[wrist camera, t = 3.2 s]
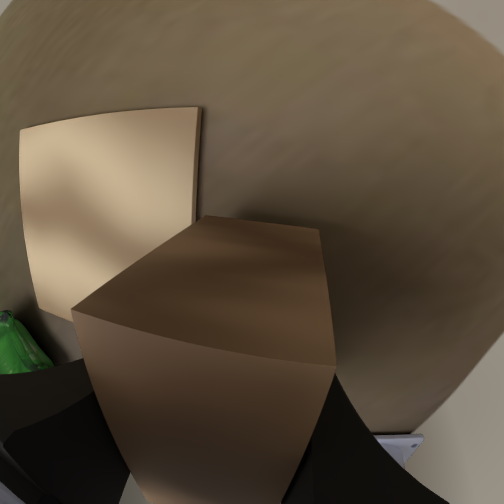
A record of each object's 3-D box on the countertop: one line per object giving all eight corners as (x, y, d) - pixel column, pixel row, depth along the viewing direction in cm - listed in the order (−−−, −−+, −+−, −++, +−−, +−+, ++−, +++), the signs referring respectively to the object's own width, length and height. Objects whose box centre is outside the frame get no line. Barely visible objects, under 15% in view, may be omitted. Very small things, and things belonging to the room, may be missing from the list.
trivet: (195, 352, 15) (192, 358, 15) (43, 305, 17) (39, 308, 16) (201, 108, 11) (197, 107, 10) (25, 129, 13) (20, 130, 12)
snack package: (82, 367, 18) (43, 408, 13) (27, 389, 23) (2, 414, 18) (29, 289, 17) (-19, 320, 12) (-9, 339, 22) (-37, 360, 17)
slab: (318, 229, 10) (336, 366, 3) (286, 396, 13) (264, 530, 6) (205, 215, 10) (70, 308, 4) (204, 381, 13) (147, 501, 7)
